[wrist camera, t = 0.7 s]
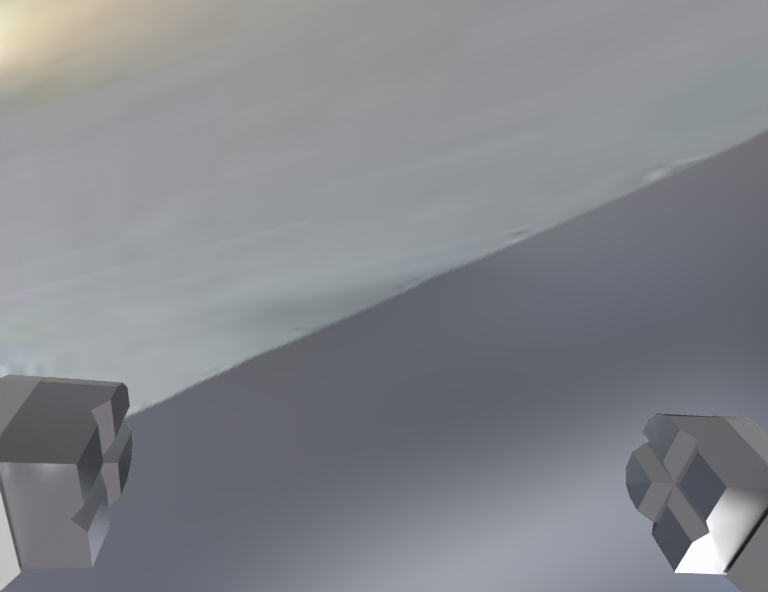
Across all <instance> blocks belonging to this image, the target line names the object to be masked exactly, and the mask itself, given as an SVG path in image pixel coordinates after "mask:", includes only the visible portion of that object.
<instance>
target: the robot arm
mask: <svg viewBox="0 0 768 592" xmlns="http://www.w3.org/2000/svg"><path fill="white" fill-rule="evenodd" d="M129 406H130V404H129V396H128V388H127V386H126V385H125V384H124V383H120V382H107V381H94V380H81V379H69V378H56V377H48V378H45V377H37V376H23V375H7V376H4V377H2V378H0V590H2V589H3V588H4V587H5V586H6V585H7V584H8V583H9V582H11V581H12V580H13V579H14V578H15V577H16V576H17V575H18V574H19V573H20V569H26V568H76V567H93V565H94V563H95V560H96V558H97V555H98V553H99V550H100V548H101V545H102V542H103V540H104V538H105V535H106V533H107V530H108V528H109V525H110V516H109V507H108V506H109V505H110V504H112V503H113V502H114V501H116V500H117V499H118V498H120V497H121V495H122V493H123V490H124V487H125V485H126V482H127V479H128V475H129V470H130V466H131V461H132V449H133V440H132V430H131V429H130V428H129V427H128V426H127V425H126V424H125V422H124V421H123V420H124V418H125V415H126V413H127V411H128V409H129ZM643 435H644V438H645V441H646V443H645V444H643V445H642V446H640V447H639V448H638V449H636V450H635V451H634V452H632V454H631V457H630V459H629V462H628V464H627V466H626V486H627V489H628V493H629V496H630V498H631V500H632V502H633V504H634V505H635V507H636V509H637V510H638V511H639V512H640V513H642V514H643V515H644V516H645V517H647V518H648V519H649V520H651V521H652V522H653V528H652V536H653V537H654V539H655V540H656V542H657V544H658V545H659V547H660V549H661V550H662V552H663V554H664V555H665V557H666V558H667V560H668V562H669V564H670V565H671V567H672V569H673V570H674V572H684V573H709V574H710V573H711V574H726V576H725V577H726V578H727V579H728V580H729V581H730V582H731V583H733V585H735V586H736V587H737V588H738V589H739V590H740V591H741V592H768V436H767V435H766V434H765V433H764V432H763V431H762V430H761V429H760V428H759V427H758V426H757V425H756V424H755V423H754V422H753V421H751V420H749V419H747V418H745V417H742V416H698V415H679V414H677V415H676V414H659V413H658V414H655V415H654V416H653V417H652V418H650V419H649V420H648V422H647V424H646V426H645V428H644V430H643Z"/></svg>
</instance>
